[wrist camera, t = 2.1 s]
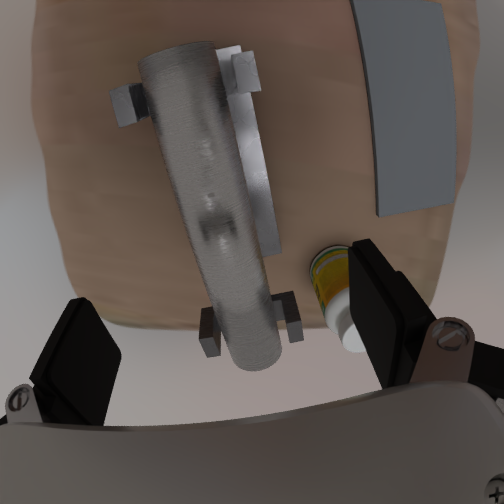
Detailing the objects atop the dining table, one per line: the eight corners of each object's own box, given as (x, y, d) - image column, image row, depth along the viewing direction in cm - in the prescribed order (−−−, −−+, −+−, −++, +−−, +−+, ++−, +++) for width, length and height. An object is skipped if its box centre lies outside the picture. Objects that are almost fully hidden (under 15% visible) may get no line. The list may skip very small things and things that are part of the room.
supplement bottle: (368, 269, 31) (406, 334, 23) (325, 297, 33) (351, 367, 24) (344, 233, 29) (384, 297, 21) (298, 265, 30) (321, 337, 22)
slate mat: (349, -4, 18) (351, -6, 17) (437, 4, 17) (440, 3, 17) (376, 214, 28) (378, 217, 27) (450, 200, 28) (453, 202, 27)
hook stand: (162, 65, 20) (95, 54, 9) (239, 46, 20) (248, 9, 9) (216, 261, 30) (212, 375, 18) (280, 248, 29) (309, 357, 18)
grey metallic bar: (148, 65, 11) (127, 62, 9) (215, 46, 11) (211, 36, 9) (231, 337, 20) (232, 375, 17) (278, 328, 19) (285, 365, 17)
